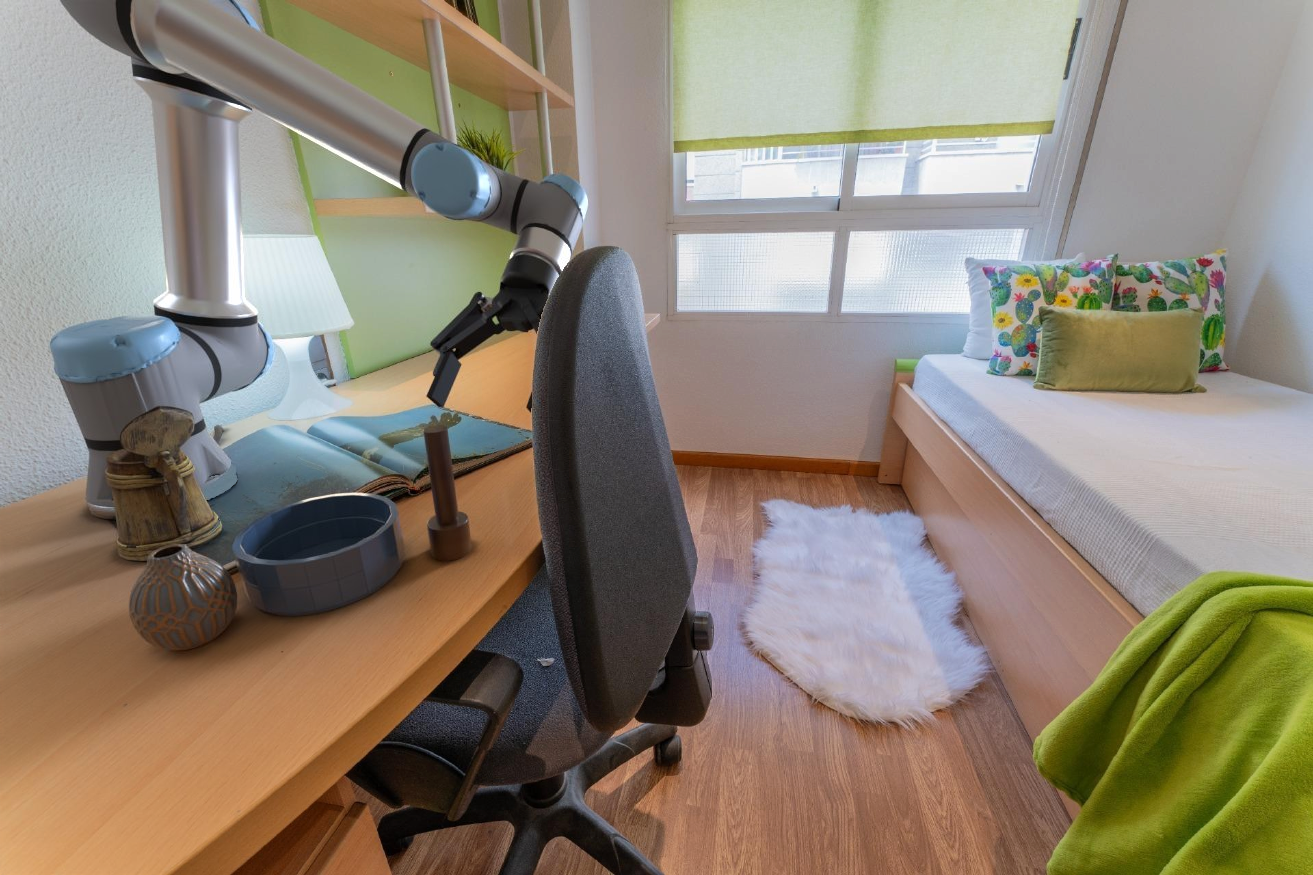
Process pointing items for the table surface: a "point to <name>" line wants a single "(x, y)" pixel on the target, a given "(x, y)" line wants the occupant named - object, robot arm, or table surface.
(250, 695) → the table surface
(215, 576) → the vase
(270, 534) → the bowl
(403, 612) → the table surface
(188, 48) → the robot arm
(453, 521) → the pestle
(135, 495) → the wooden mug
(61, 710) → the table surface
